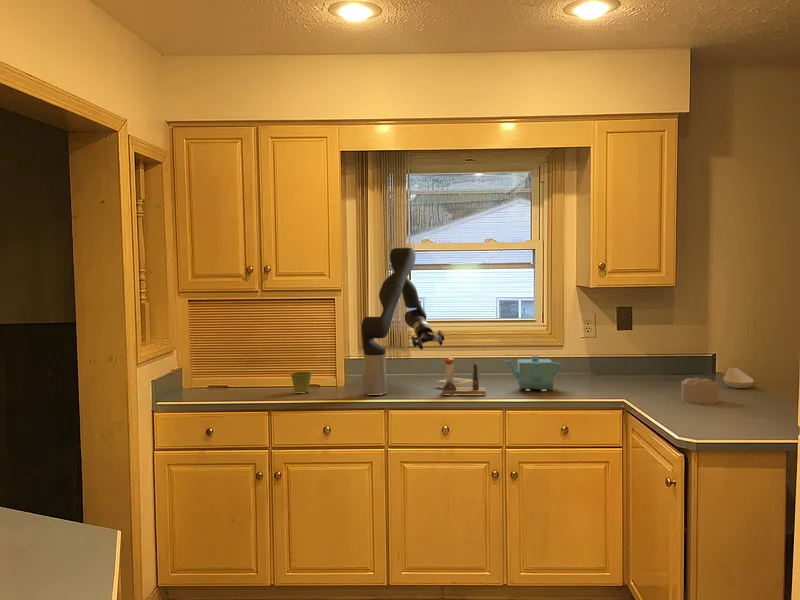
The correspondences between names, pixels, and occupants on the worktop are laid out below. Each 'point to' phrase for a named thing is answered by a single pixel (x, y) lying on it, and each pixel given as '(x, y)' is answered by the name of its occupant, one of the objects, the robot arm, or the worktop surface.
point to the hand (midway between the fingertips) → (431, 345)
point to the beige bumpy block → (699, 390)
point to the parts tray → (463, 383)
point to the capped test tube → (449, 371)
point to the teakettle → (534, 372)
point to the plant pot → (301, 381)
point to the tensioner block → (467, 390)
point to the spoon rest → (737, 378)
